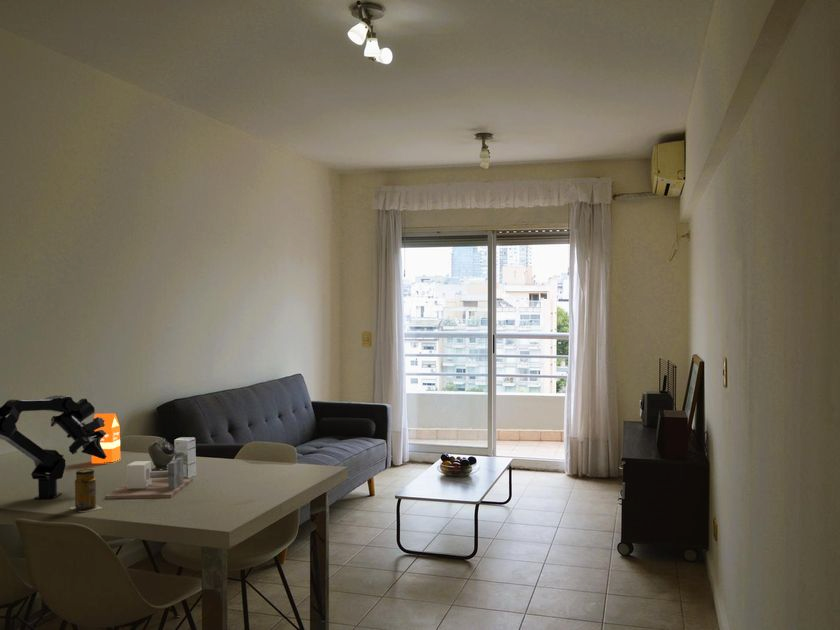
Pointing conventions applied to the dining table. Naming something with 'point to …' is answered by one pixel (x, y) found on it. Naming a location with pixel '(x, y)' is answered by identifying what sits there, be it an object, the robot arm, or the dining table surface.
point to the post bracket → (157, 484)
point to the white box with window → (138, 474)
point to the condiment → (85, 491)
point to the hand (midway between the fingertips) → (105, 458)
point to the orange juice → (109, 439)
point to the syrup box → (186, 455)
